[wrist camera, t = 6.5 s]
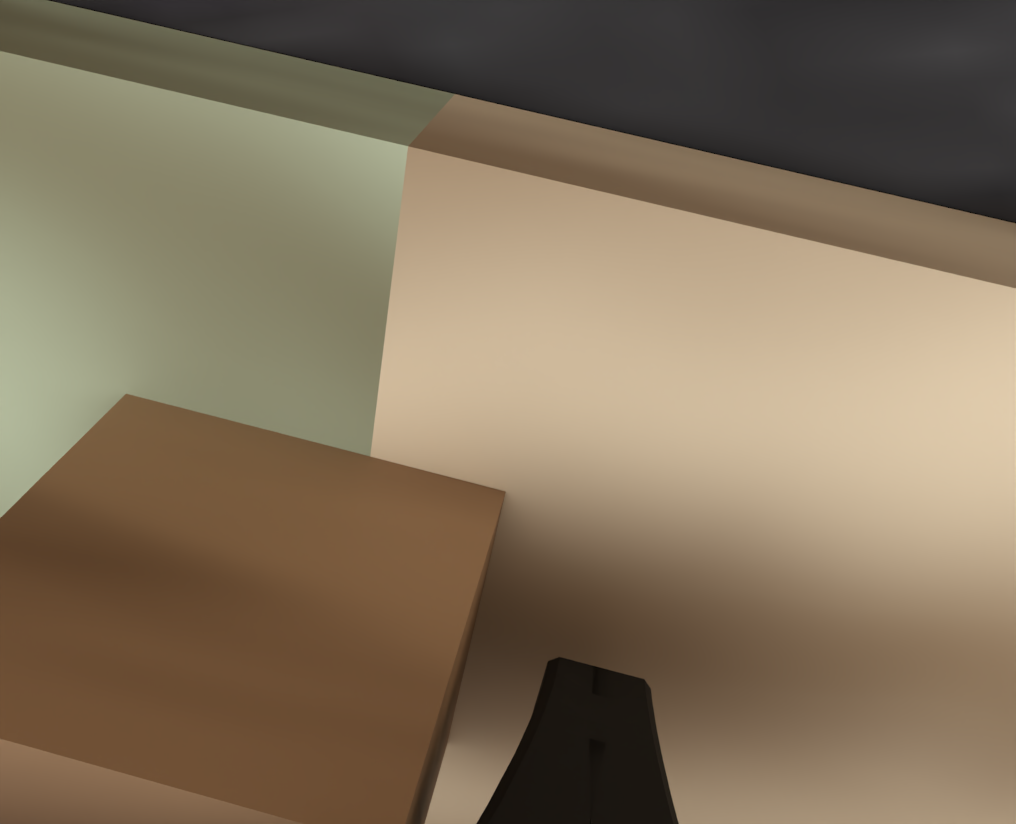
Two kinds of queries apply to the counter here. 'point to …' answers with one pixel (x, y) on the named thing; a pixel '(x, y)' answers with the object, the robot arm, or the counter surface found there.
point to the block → (232, 627)
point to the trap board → (559, 393)
